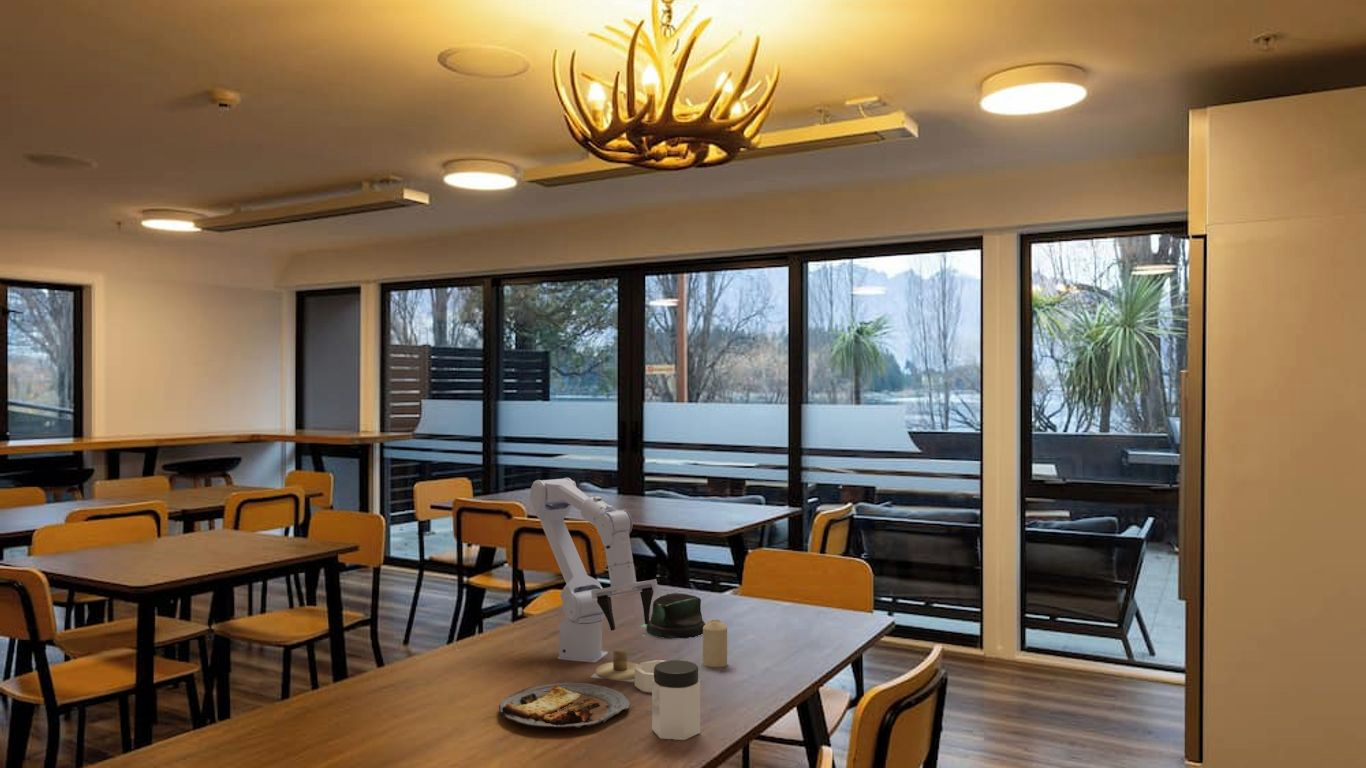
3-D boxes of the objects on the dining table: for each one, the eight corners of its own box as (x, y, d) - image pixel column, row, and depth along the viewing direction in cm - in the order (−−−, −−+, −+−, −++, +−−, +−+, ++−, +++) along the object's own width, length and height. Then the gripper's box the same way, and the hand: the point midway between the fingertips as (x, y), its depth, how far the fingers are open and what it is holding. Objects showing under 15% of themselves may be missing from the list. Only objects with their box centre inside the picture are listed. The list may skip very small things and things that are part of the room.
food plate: (569, 746, 163) (569, 725, 163) (473, 721, 176) (473, 702, 176) (648, 708, 185) (649, 690, 185) (558, 688, 197) (558, 671, 197)
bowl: (629, 691, 192) (629, 672, 192) (645, 676, 202) (645, 658, 202) (675, 696, 189) (675, 677, 189) (689, 681, 199) (689, 662, 199)
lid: (588, 677, 200) (588, 655, 200) (607, 663, 210) (607, 642, 210) (633, 682, 197) (633, 659, 197) (650, 667, 207) (650, 646, 207)
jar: (674, 719, 176) (675, 656, 176) (708, 730, 171) (708, 665, 171) (642, 733, 169) (643, 667, 169) (676, 744, 164) (677, 677, 164)
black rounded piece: (677, 646, 226) (677, 608, 226) (621, 631, 239) (621, 595, 239) (729, 631, 240) (729, 595, 240) (674, 617, 254) (674, 583, 254)
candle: (725, 669, 207) (725, 624, 207) (700, 667, 208) (700, 623, 208) (728, 662, 213) (728, 618, 213) (705, 660, 214) (705, 617, 214)
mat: (590, 678, 200) (590, 677, 200) (607, 665, 210) (607, 663, 210) (633, 683, 197) (633, 681, 197) (649, 669, 207) (649, 667, 207)
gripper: (585, 570, 202) (594, 634, 200) (650, 559, 202) (660, 622, 199) (591, 570, 209) (600, 631, 207) (654, 559, 209) (664, 620, 206)
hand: (630, 627), depth 203 cm, fingers open, 7 cm apart
